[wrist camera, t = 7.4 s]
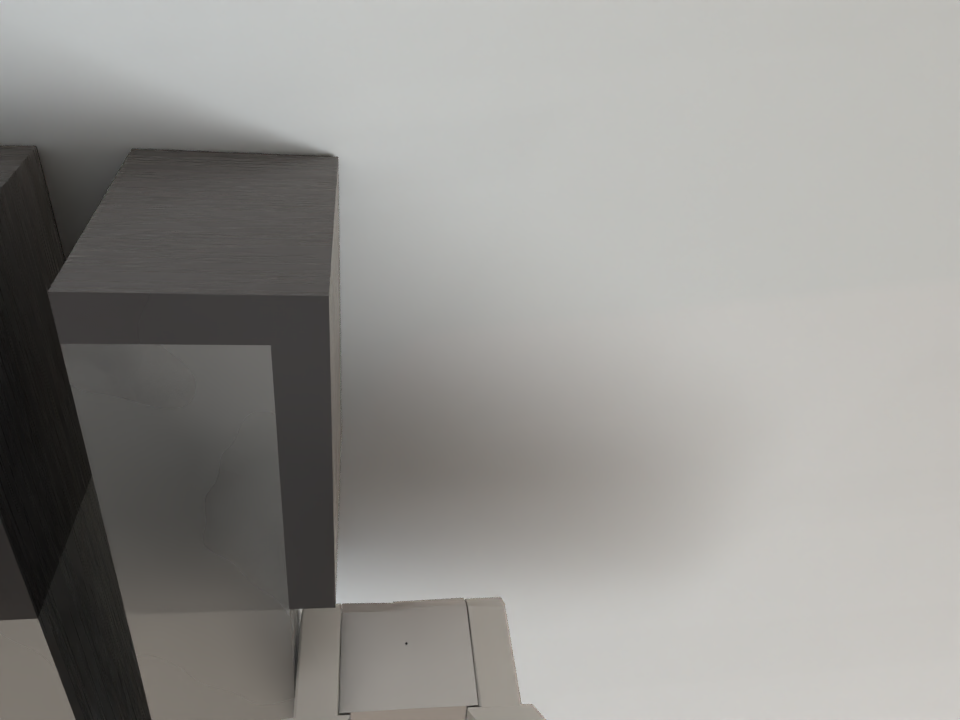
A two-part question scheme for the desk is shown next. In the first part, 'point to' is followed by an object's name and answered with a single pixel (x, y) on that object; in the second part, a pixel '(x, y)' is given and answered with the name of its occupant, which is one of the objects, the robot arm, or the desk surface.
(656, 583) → the desk surface
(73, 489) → the tongs body
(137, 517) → the bar
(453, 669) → the robot arm
